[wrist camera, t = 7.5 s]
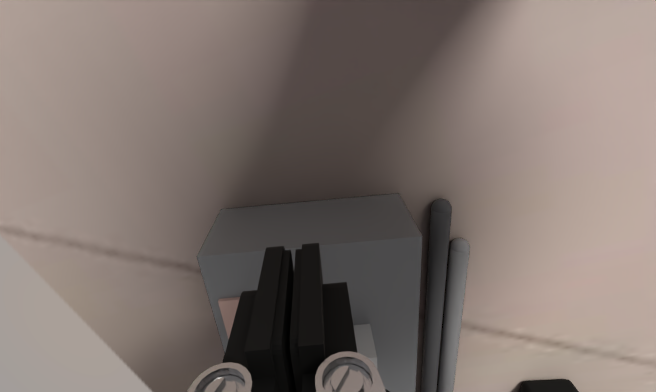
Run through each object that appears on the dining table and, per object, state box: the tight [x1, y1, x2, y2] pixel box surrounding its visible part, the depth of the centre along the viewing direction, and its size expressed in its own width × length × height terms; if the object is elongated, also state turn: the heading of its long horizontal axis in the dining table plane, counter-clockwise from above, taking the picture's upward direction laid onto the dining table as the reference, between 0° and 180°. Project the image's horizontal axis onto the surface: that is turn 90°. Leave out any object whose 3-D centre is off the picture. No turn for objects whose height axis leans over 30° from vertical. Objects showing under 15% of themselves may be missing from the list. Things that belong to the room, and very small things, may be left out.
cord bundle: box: [421, 199, 470, 392], centre depth 26 cm, size 25×3×1 cm, turn 5°
